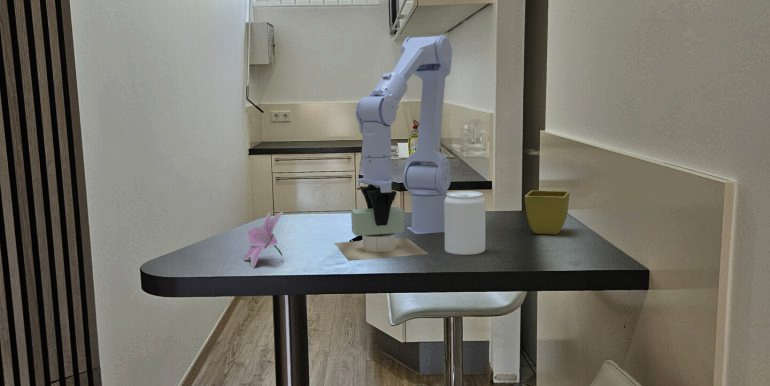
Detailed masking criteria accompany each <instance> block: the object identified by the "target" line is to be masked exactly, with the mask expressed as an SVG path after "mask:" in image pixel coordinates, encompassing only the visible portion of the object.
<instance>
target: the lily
mask: <svg viewBox="0 0 770 386" xmlns="http://www.w3.org/2000/svg"><path fill="white" fill-rule="evenodd" d="M283 214H284V212H283V211H281V212H277V213H276V214H275V215H274V216H272V217H271V212H270V211H268V213H267V214H266V216H265V218H264V220H263V222H262V223H261V226H260V225H259V226H253V227H251V228H249V229H248V230H247V231H245V239H246V241H247V243H248V244H249V245H251V246H250V247H249V248H248V250H247V251H246V253H245V255H244V257H243V260H245V261H246V260H247V259H249V258H250V264H251V265H250V266H251V267H252V266H253V267H254V268H255V267H256V264H257V262H258V260H259V258H260V255H261V254H262V252H263V251H264V250H265V249H269V248H271V247H274V248H275V249H276V250H277V251H278V253H279V255H281V256H283V253H282V251H281V250H280V248H279V247H277V245H278V240H277V237H276V236H275V234H274V233H273V231H274V229H275V228H276V226H277V224H278V222H279V221H280V219H281V217H282V216H283Z"/></svg>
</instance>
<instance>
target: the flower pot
mask: <svg viewBox="0 0 770 386" xmlns="http://www.w3.org/2000/svg"><path fill="white" fill-rule="evenodd" d="M570 194H571V192H570V191H569V190H536V189H535V190H530V191H529V192H527V194H525V195H524V205H525V211H526V212H525V213H526V218H527V222H528V224H529V227H530V228H531V230H532V232H533V233H534V234H535V235H553V236H554V235H555V236H557V235H558V234H559V233H560V231H562V229H563V226H564V224H565V222H566V219H567V216H568V212H569V202H570Z"/></svg>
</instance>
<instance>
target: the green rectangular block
mask: <svg viewBox="0 0 770 386" xmlns="http://www.w3.org/2000/svg"><path fill="white" fill-rule="evenodd" d="M350 211H351V212H350V213H351V233H353V235H354V236H356V237H357V236H358V237H359V236H360V237H361V236H362V235H374V234H389V233H395V234H400V233H401V234H402V233H405V210H404V209H403V208H401V207H400V206H391V208H390V213H389V218H388V223H387V225H383V226H377V225H376V222H375V218H374V211H373V208H371V209H368V208H358V209H357V208H356V209H350Z"/></svg>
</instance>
